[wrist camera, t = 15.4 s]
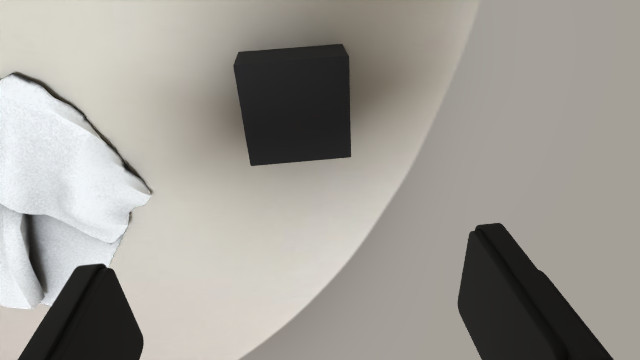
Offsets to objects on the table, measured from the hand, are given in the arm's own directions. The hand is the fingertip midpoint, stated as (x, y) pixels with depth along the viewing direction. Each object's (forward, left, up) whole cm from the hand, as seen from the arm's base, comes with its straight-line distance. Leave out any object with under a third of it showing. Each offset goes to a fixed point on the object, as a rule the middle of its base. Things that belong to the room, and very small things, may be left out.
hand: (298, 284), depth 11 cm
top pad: (0, 0, -14) cm, 14 cm away
